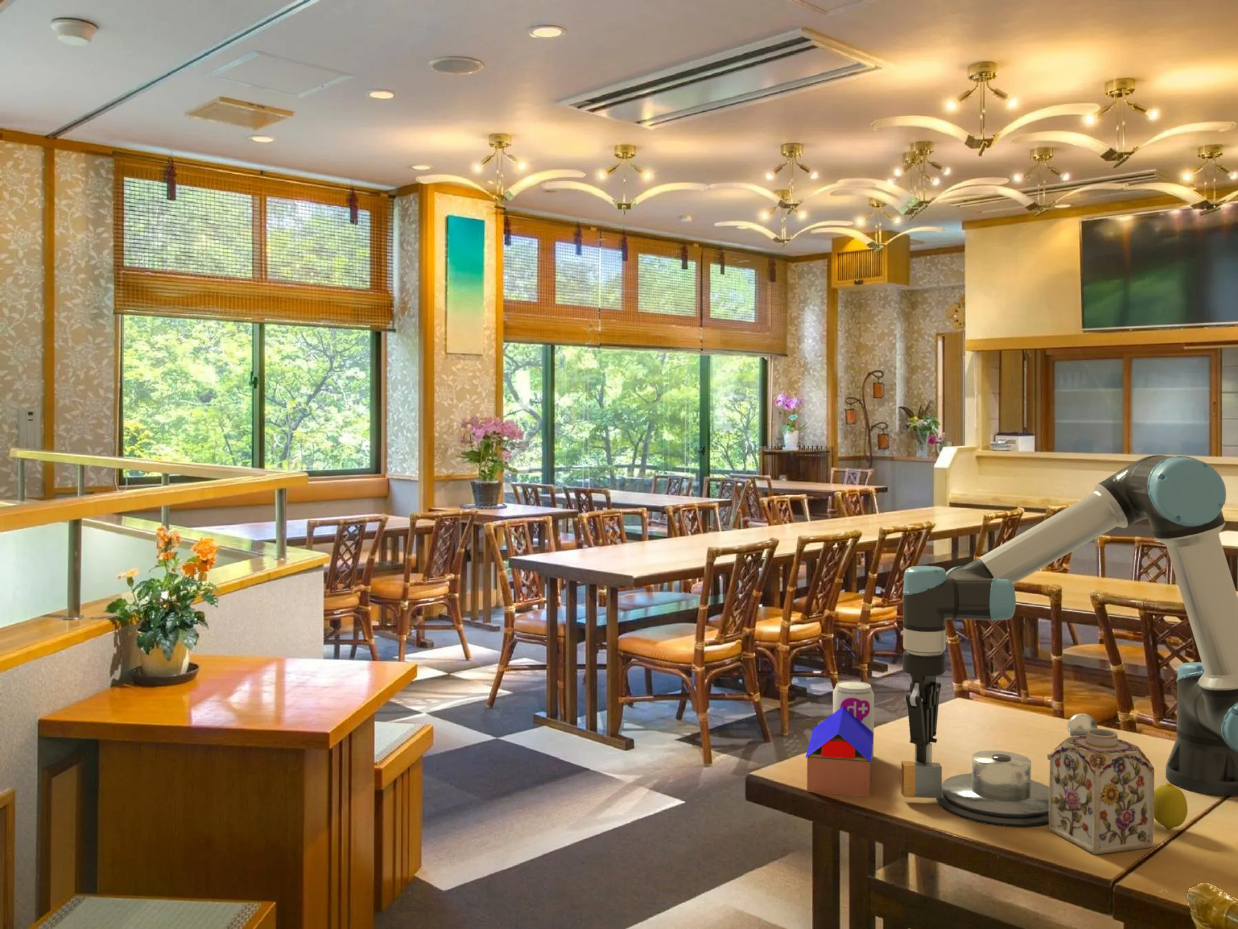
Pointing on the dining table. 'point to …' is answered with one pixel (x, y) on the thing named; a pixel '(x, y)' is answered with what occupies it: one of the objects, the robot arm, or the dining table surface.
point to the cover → (1001, 776)
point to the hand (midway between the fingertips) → (923, 778)
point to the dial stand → (1079, 725)
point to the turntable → (967, 792)
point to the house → (840, 756)
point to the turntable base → (992, 817)
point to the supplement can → (856, 702)
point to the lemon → (1169, 806)
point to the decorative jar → (1101, 793)
